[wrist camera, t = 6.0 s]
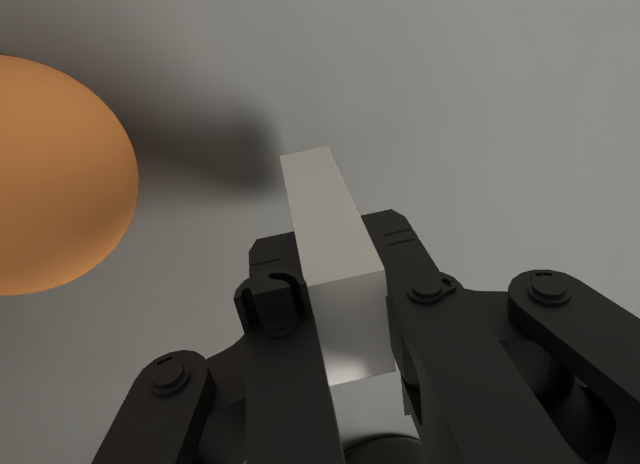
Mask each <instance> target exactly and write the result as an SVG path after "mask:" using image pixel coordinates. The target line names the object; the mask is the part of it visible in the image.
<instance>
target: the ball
mask: <svg viewBox="0 0 640 464" xmlns="http://www.w3.org/2000/svg"><path fill="white" fill-rule="evenodd" d="M138 192H139V175H138V167H137V161H136V157H135V153H134V150H133V147H132V144H131V142H130V140H129V138H128V135H127V133H126V131H125V129H124V128H123V126H122V125H121V123H120V122H119V120H118V119H117V117H116V116H115V114H114V113H113V112H112V111H111V110H110V109H109V107H108V106H107V105H106V104H105V103H104V102H103V101H102V100H101V99H100V98H99V97H98V96H97V95H96V94H94V93H93V92H92V91H91V90H90V89H88V88H87V87H86V86H84V85H83V84H81V83H80V82H78V81H76V80H75V79H73V78H72V77H70V76H69V75H67V74H65V73H63V72H61V71H59V70H57V69H54V68H52V67H49V66H46V65H44V64H41V63H38V62H35V61H32V60H28V59H23V58H19V57H14V56H7V55H0V295H21V294H28V293H35V292H39V291H43V290H47V289H51V288H54V287H58V286H60V285H63V284H65V283H68V282H70V281H72V280H74V279H76V278H78V277H79V276H81V275H83V274H85V273H86V272H88V271H90V270H91V269H92V268H94V267H95V266H96V265H98V264H99V263H100V262H101V261H102V260H104V259H105V258H106V257H107V256H108V255H109V254H110V253H111V251H112V250H113V249H114V248H115V247H116V246H117V245H118V243H119V242H120V240H121V239H122V237H123V235H124V234H125V232H126V231H127V229H128V227H129V225H130V223H131V220H132V217H133V214H134V211H135V208H136V204H137V199H138Z"/></svg>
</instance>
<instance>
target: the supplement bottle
mask: <svg viewBox="0 0 640 464" xmlns="http://www.w3.org/2000/svg"><path fill="white" fill-rule="evenodd" d="M344 458H345V463H346V464H429V462H428V459H427V457H426V454H425V451H424V449H423V446H422V443H421V441H418V440H415V439H412V438H407V437H385V438H379V439H375V440H371V441H368V442H365V443H362V444H360V445H358V446H355V447H353V448H352V449H350V450H348V451H347V452H345V453H344Z"/></svg>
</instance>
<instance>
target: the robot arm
mask: <svg viewBox="0 0 640 464" xmlns="http://www.w3.org/2000/svg"><path fill="white" fill-rule="evenodd" d="M280 160H281V165H282V170H283V176H284V181H285V186H286V191H287V196H288V201H289V206H290V211H291V217H292V222H293V227H294V232H289V233H284V234H280V235H275V236H270V237H266V238H261V239H257V240H256V241H255V243H254V245H253V246H252V248H251V249H250V251H249V266H250V267H249V276H250V278H248V279H246V280H245V281H243V283H242V284H241V285H240V286H239V287H238V288H237V289H236V292H235V295H234V302H235V305H236V309H237V312H238V315H239V318H240V321H241V324H242V327H243V330H244V333H245V334H244V335H243V336H242V337H241V339H240V340H238V341H237V342H236V343H235V344H234V345H232V346H231V347H229V348H227V349H226V350H224V351H222V352H220V353H218V354H216V355H214V356H212V357H210V358H208V359H206V360H205V358H204V357H203V356H202V355H200V354H198V353H197V352H195V351H187V350H181V351H175V352H170V353H168V354H165V355H163V356H161V357H159V358H157V359H155V360H154V361H153V362H151V363H150V364H149V365H147V366H146V367H145V368H144V369H143V370H142V371H141V373H140V374H139V375H138V377H137V378H136V379H135V381H134V383H133V385H132V387H131V389H130V391H129V392H128V394H127V396H126V398H125V400H124V402H123V404H122V406H121V408H120V410H119V412H118V413H117V415H116V417H115V419H114V421H113V423H112V425H111V427H110V429H109V431H108V433H107V435H106V436H105V438H104V440H103V442H102V444H101V446H100V448H99V450H98V452H97V454H96V456H95V457H94V459H93V461H92V463H91V464H244V461H246V460H247V464H346V463H345V458H344V454H343V449H342V444H341V439H340V435H339V430H338V425H337V420H336V415H335V411H334V406H333V401H332V397H331V392H330V388H329V386H332V385H336V384H341V383H345V382H349V381H354V380H358V379H363V378H367V377H371V376H376V375H380V374H384V373H389V372H393V371H396V369H395V360H396V363H397V365H398V368H399V370H400V373H401V382H402V392H403V403H404V412H405V416H406V415H410V413H411V416H412V419H413V421H414V424H415V427H416V429H417V432H418V435H419V438H420V440H421V443H422V446H423V449H424V451H425V454H426V457H427V459H428V462H429V464H640V319H639V318H638V317H636V316H635V315H633V314H631V313H630V312H628V311H627V310H625V309H624V308H622V307H620V306H619V305H617V304H616V303H614V302H613V301H611V300H609V299H608V298H606V297H605V296H603V295H602V294H600V293H598V292H597V291H595V290H594V289H592V288H591V287H589V286H587V285H586V284H584V283H583V282H581V281H580V280H578V279H576V278H574V277H572V276H570V275H567V274H565V273H562V272H557V271H553V270H531V271H527V272H523V273H521V274H519V275H518V276H516V277H515V278H513V279H512V281H511V283H510V285H509V287H508V292H500V291H473V290H469V289H464V288H463V286H462V285H461V284H460V283H459V282H458V281H457V280H456V279H455V278H454V277H452V276H450V275H447V274H445V273H443V272H440V271H439V270H438V268H437V267H436V265H435V263H434V262H433V260H432V259H431V257H430V255H429V254H428V252H427V251H426V249H425V247H424V246H423V244H422V243H421V241H420V240H419V239H418V236H417V235H416V233H415V232H414V231H413V229H412V227H411V225H410V224H409V222H408V220H407V219H406V217H404V216H403V215H401V214H399V213H397V212H396V211H394V210H392V209H390V210H385V211H381V212H376V213H371V214H367V215H362V216H360V214H359V212H358V210H357V208H356V205H355V203H354V201H353V199H352V197H351V195H350V192H349V190H348V188H347V186H346V184H345V182H344V179H343V177H342V175H341V173H340V171H339V168H338V166H337V164H336V162H335V160H334V158H333V155H332V153H331V151H330V149H329V147H328V146H324V147H319V148H315V149H310V150H305V151H300V152H295V153H290V154H286V155H281V156H280ZM394 357H395V360H394Z"/></svg>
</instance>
